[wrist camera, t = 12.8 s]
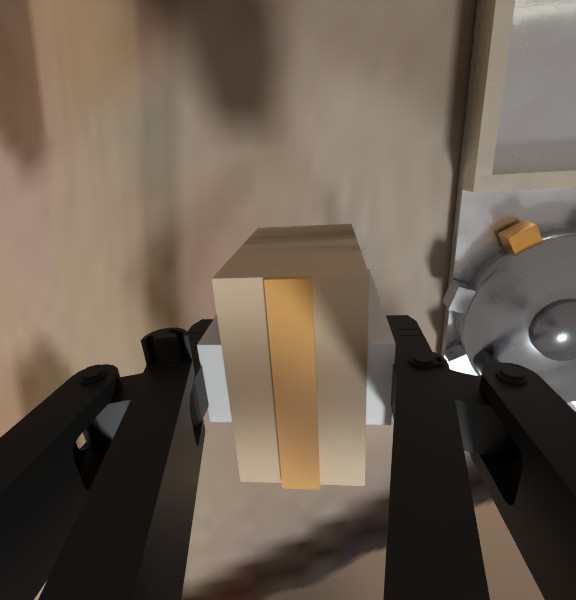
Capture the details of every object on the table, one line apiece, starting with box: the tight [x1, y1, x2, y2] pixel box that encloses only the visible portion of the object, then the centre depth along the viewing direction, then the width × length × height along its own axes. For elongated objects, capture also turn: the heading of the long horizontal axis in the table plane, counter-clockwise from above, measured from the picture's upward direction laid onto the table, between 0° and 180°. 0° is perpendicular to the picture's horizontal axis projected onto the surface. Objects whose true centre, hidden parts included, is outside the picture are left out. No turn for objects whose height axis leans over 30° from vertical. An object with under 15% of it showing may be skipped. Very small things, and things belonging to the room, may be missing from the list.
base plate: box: [441, 0, 576, 412], centre depth 25 cm, size 30×14×3 cm, turn 3°
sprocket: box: [442, 220, 576, 406], centre depth 24 cm, size 16×16×7 cm
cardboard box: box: [212, 224, 369, 490], centre depth 14 cm, size 7×4×7 cm, turn 3°
